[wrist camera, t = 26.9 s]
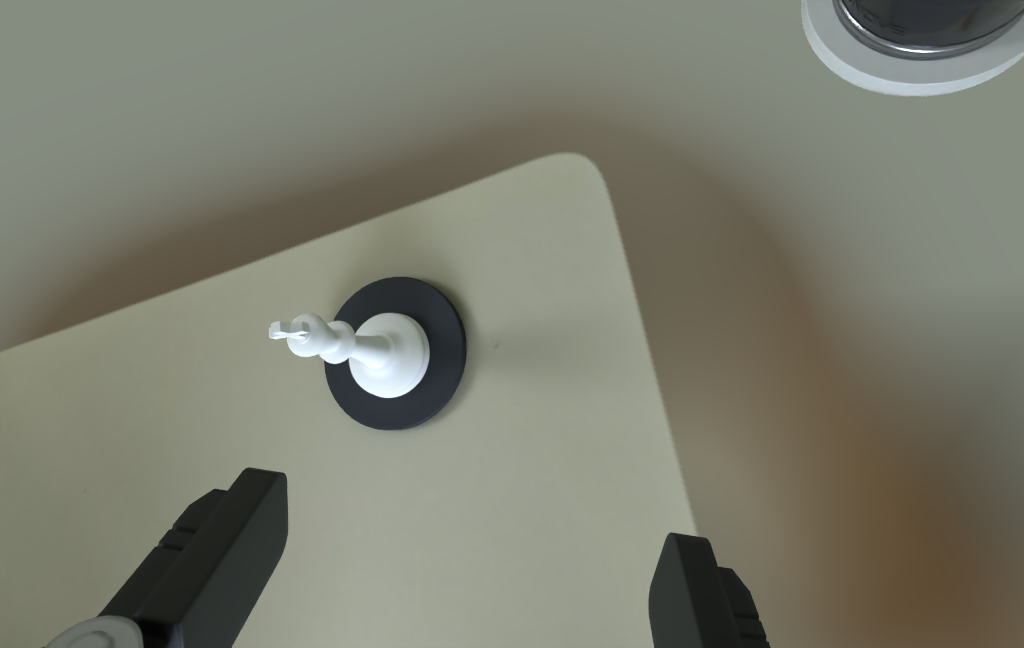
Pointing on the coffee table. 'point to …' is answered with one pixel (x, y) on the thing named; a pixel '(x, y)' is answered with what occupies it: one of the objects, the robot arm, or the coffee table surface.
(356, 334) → the chess piece
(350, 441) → the coffee table surface
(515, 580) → the coffee table surface
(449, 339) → the coaster
